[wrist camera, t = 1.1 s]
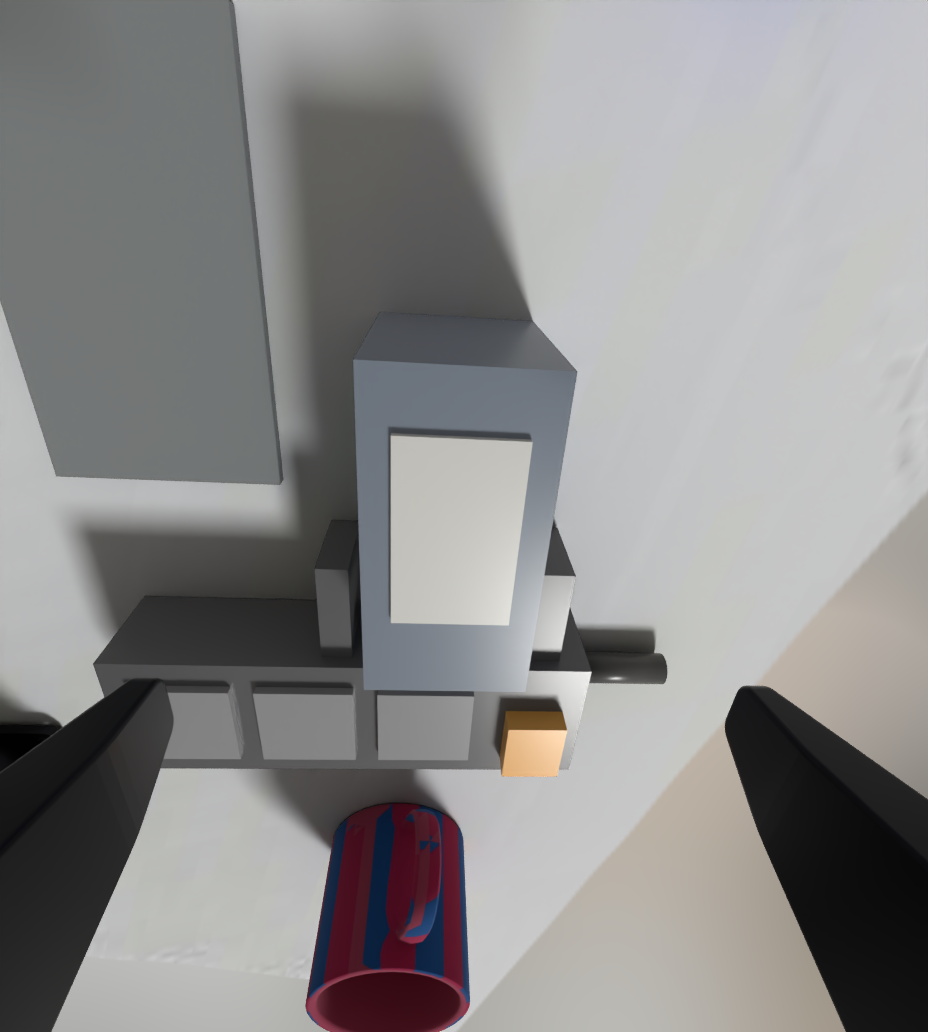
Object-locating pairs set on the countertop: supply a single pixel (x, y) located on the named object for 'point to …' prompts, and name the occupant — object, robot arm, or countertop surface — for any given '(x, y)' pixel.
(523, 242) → the countertop surface
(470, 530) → the block
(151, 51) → the mat
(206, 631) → the power strip
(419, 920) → the mug
